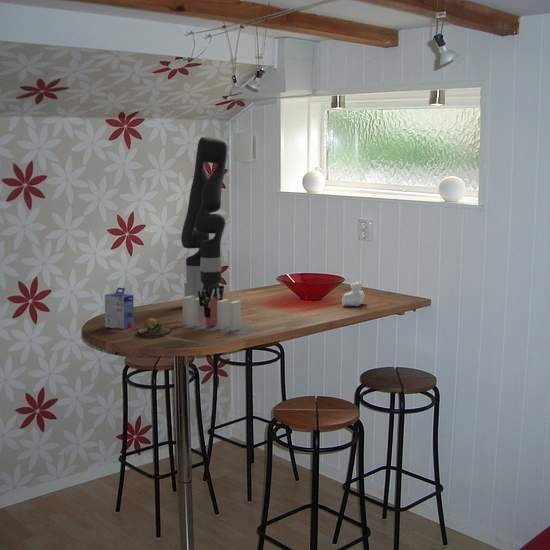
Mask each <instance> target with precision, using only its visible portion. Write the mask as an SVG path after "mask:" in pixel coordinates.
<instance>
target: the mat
mask: <svg viewBox="0 0 550 550" xmlns="http://www.w3.org/2000/svg"><path fill="white" fill-rule="evenodd" d="M176 327H179V328H180V327H182V328H189V329H196V330H204V331H211V332H219V333H227V334H234V335H242V336H245V335H247V334H250V333H253V332H255V331H258V330H261V328H260V327H251V326H245V325H241V328H240V329H238V330H235V331H229V327H227V328H225V329H222V330H221V329H217V325H214V326H211V327H207V326H206V324H204V325H202V326H199V327H197V326H194V323H192V324H189V325H183V323H180V324H177V325H176Z"/></svg>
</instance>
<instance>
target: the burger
mask: <svg viewBox="0 0 550 550" xmlns="http://www.w3.org/2000/svg"><path fill="white" fill-rule="evenodd" d="M157 321H158V320H157V319H156V318H155V317H154V318H153V317H151V318H147V319H146V320H145V322H144V327H142V328H138V329H137V332H136V333H137V334H136V335H138V337H140V336H143V337H147V338H146V339H151V338H150V337H159V338H165V337H166V335H169V334H170V332H171V331H172V329H171V328H170V327H167V326H163V325H162V324H161V323H157ZM163 330H164V331H165V332H161V331H163ZM144 331H147V333H144ZM143 337H142V338H143Z"/></svg>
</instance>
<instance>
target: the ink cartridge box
mask: <svg viewBox="0 0 550 550" xmlns="http://www.w3.org/2000/svg"><path fill="white" fill-rule="evenodd" d="M125 290H126V287H117V288H116V291H115V292H112V293H107V294H104V327H105V328H108V327H109V328H110V329H122V330H126V329H129V328H133V327H135V317H134V316H135V310H134V309H135V308H134V304H135V302H134V295H133V294H127V293H126V294H125Z"/></svg>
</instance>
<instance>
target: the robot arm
mask: <svg viewBox="0 0 550 550" xmlns="http://www.w3.org/2000/svg"><path fill="white" fill-rule="evenodd" d="M228 149H229V148H228V142H227V141H226V140H225V139H222V138H216V137H209V136H201V137H200V138H199V141H198V144H197V148H196V156H195V166H194V174H193V178H192V183H191V186H190V187H191V188H190V192H189V197H188V198H189V199H188V205H187V211H186V216H185V219H184V223H183V226H182V230H181V237H180V239H181V241H180V242H181V245H182V247H183V248H185V249H190V250H191V249H198V250H197V252H195V253H194V254H191V255H190V256H188V257H186V259H185V272H186V273H185V274H186V276H185V277H186V278H185V279H186V280H185V283H184V286H183V287H184V297H187V296H190V295H191V296H194V297H195V299H196V298H199V302H200V306H203V307H204V316H205V317H206V318H210V317H211V309H210V305H211V301H212V300H213V297H216V299H217V301H220V300H224V289H225V286H224V285H220V284H221V282H222V260H221V244H222V242H221V241H222V237H223V233H224V229H225V227H226V219H225V217H224V215H222V214H221V213H215V212H218V211H219V210H220V209H221V206H222V187H223V182H224V177H225V171H226V164H227V160H228V159H227V158H228V151H229V150H228ZM205 163H211V164H217V165H216V167H215V170H214V171H213V173H212V174H211V175H210V176H209V174H208V172H207V170H206V165H205ZM210 234H213V235H214V237H213V238H212V237H211V238H210ZM208 298H209V299H208ZM202 301H203V302H202ZM207 301H208V304H207Z"/></svg>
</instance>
